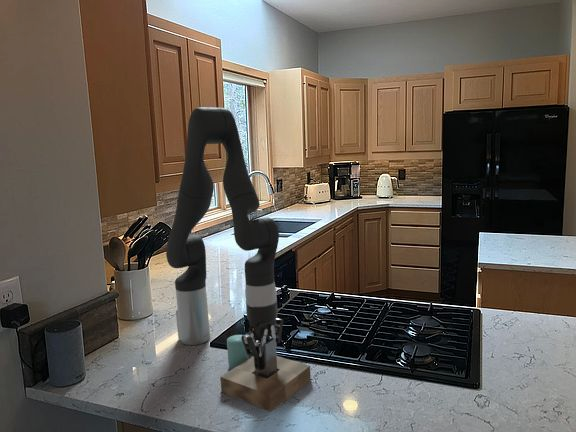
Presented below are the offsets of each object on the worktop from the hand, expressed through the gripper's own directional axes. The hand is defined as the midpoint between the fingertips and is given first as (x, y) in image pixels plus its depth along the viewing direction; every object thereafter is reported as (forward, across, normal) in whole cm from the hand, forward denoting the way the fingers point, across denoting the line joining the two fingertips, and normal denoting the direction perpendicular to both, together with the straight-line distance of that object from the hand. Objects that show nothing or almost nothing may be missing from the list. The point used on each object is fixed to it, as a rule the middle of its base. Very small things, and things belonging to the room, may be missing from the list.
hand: (265, 364), depth 117 cm
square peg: (+3, 0, 0) cm, 3 cm away
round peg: (+6, -4, -13) cm, 15 cm away
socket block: (+6, 0, 0) cm, 6 cm away
